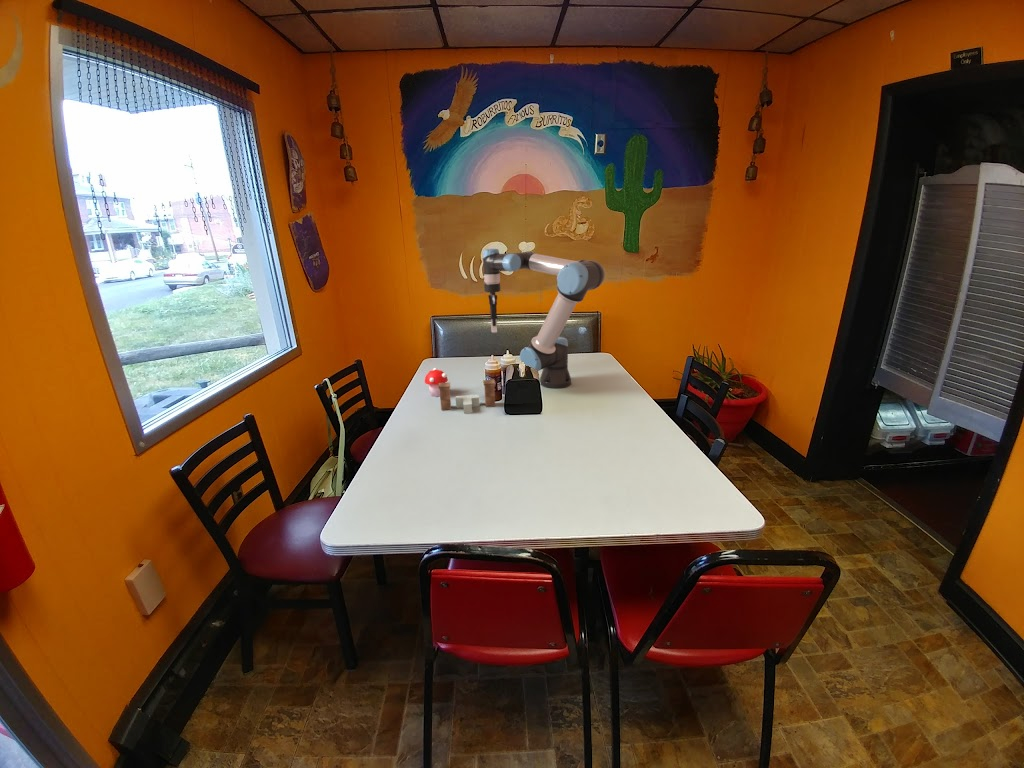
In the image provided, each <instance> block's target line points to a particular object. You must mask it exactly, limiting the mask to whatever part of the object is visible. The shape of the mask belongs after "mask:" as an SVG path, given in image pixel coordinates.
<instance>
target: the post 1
mask: <svg viewBox="0 0 1024 768" xmlns="http://www.w3.org/2000/svg"><path fill="white" fill-rule="evenodd" d="M450 388H451V382H449V381H448V382H446V383H439V385H438V389H440V396H439V397H440V399H439V400H440V409H441V411H451V410H452V402H451V389H450Z"/></svg>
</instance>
